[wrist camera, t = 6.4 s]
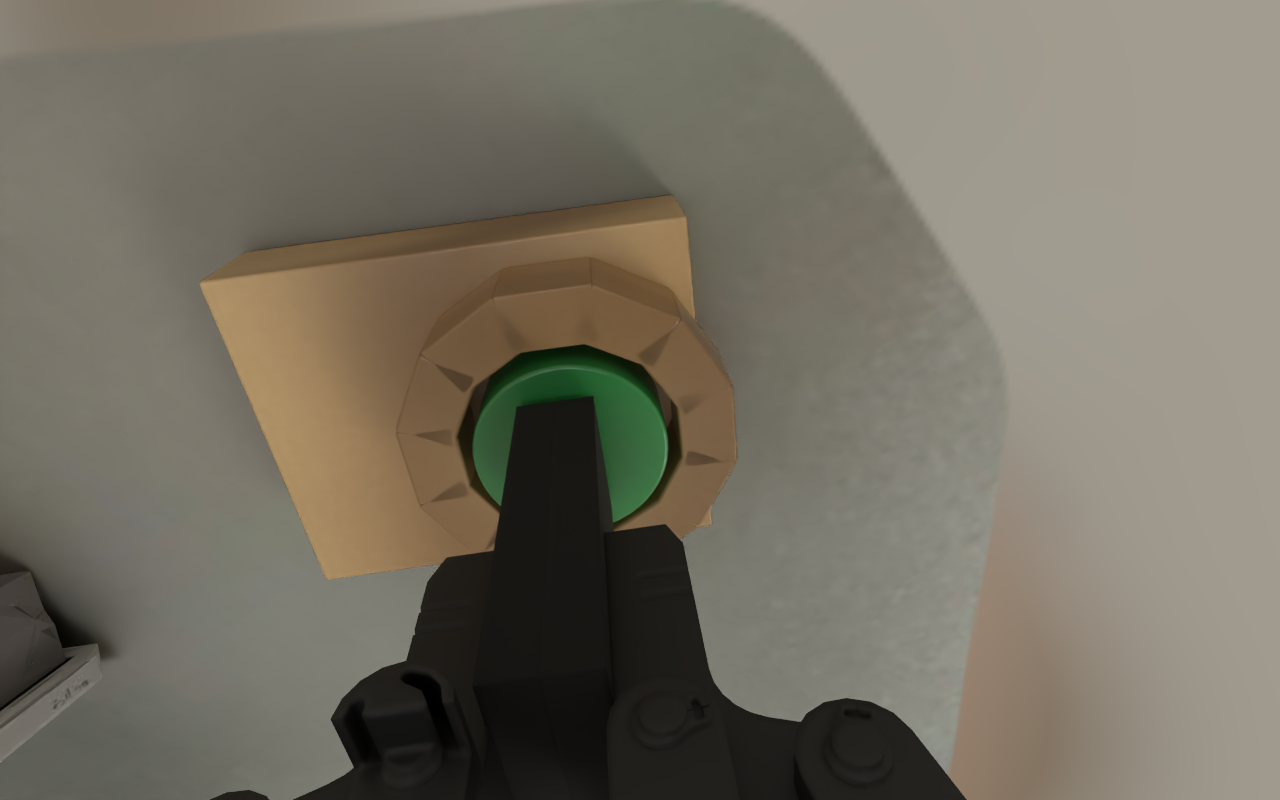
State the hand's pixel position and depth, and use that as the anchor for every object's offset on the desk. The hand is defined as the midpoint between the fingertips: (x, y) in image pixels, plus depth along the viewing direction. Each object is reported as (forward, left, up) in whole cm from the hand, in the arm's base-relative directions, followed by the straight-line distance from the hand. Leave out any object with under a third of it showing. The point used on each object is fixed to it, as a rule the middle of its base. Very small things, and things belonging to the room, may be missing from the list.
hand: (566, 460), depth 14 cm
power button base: (+2, 0, -5) cm, 5 cm away
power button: (0, 0, -2) cm, 2 cm away
